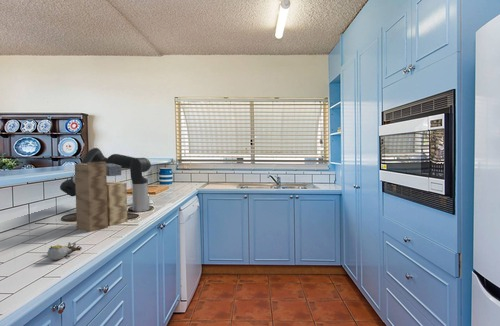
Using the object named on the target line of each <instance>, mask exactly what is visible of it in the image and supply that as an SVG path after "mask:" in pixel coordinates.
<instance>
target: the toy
mask: <svg viewBox="0 0 500 326" xmlns="http://www.w3.org/2000/svg"><path fill="white" fill-rule="evenodd" d="M82 248H83V247H81V246H80V245H77V243H76V241H74V242H73V243H71V242H68V243H67V245H59V244H56V245H54V246H52V245H51V246H50V247H48V251H47V253H46V254H47V258H49V259H50V260H51V261H52V260H53V261H59V260H61V259H63V258H65V257H67V258H71V256H70V253H74V252H76V251H77V252H78V251H79V252H80V251H81V250H82ZM67 254H69V255H67ZM58 259H59V260H58Z"/></svg>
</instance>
